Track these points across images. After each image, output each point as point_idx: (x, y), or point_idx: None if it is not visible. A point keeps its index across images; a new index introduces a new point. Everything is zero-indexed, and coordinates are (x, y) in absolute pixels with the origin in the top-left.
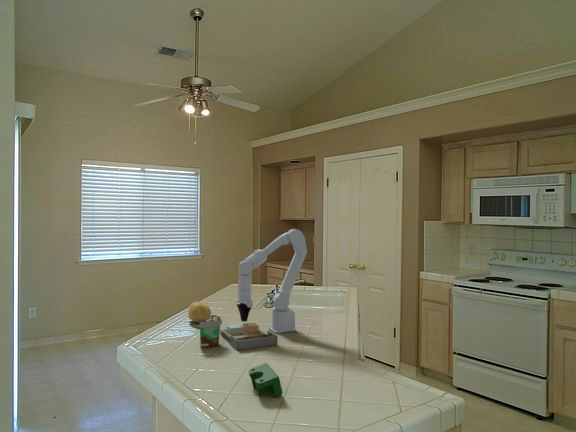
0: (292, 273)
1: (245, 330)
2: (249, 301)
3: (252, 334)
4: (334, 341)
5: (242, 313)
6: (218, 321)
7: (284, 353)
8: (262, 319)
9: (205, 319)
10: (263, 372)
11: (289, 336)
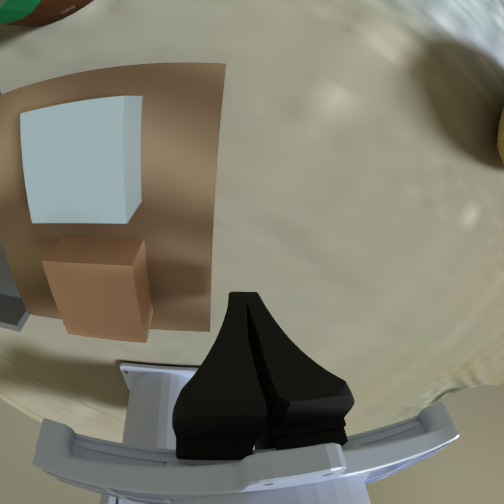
0: None
1: (85, 241)
2: (122, 496)
3: (27, 251)
4: (35, 406)
5: (214, 347)
6: None
7: None
8: (367, 378)
9: (501, 128)
10: None
11: (77, 373)
